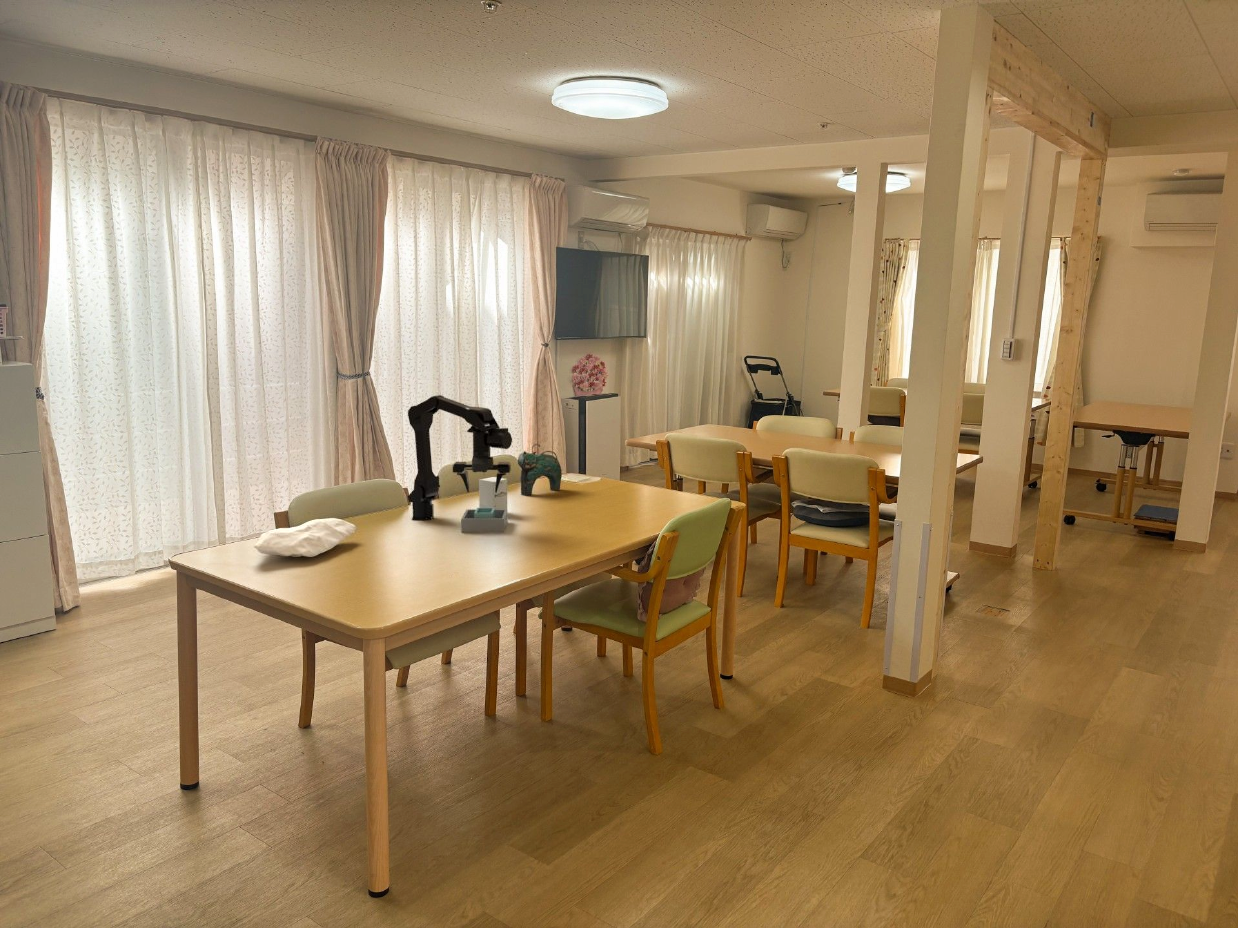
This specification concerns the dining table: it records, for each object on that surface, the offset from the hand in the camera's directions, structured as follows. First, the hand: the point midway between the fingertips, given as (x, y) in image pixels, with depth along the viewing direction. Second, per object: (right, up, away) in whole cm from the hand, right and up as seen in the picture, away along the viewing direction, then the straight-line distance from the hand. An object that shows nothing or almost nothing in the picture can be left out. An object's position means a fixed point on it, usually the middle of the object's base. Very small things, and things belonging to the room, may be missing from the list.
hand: (482, 492), depth 294 cm
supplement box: (+1, -8, +21) cm, 23 cm away
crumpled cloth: (-49, -17, -30) cm, 60 cm away
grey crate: (+1, -12, +2) cm, 12 cm away
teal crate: (+1, -11, +2) cm, 11 cm away
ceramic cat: (+14, -2, +58) cm, 59 cm away
